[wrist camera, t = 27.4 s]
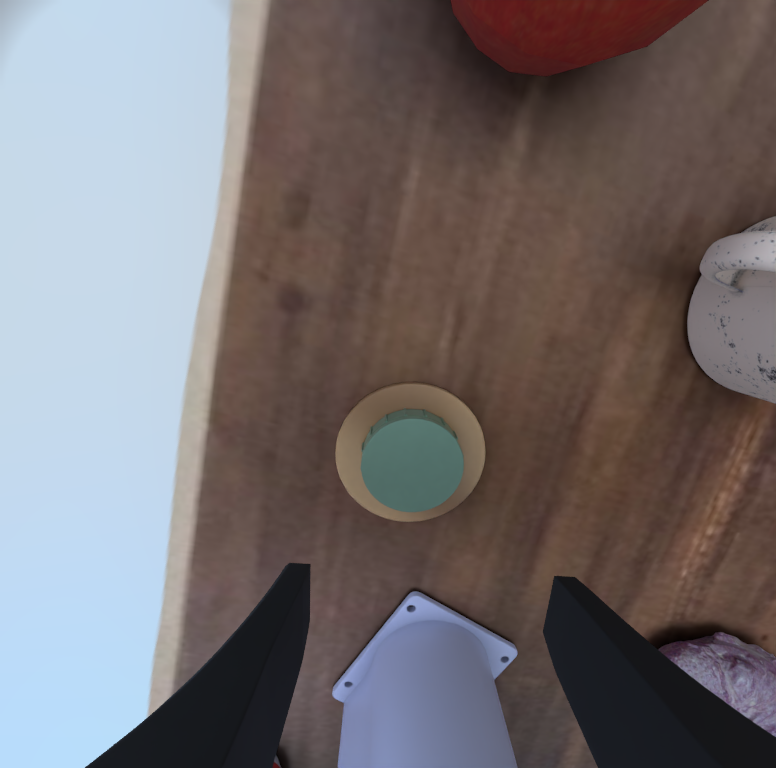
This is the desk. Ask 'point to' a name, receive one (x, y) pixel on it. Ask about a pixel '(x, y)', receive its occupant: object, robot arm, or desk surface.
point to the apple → (565, 29)
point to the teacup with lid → (738, 312)
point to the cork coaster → (396, 400)
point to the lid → (411, 460)
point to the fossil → (731, 673)
